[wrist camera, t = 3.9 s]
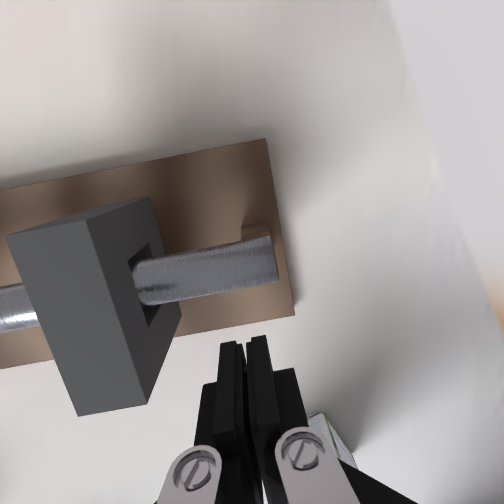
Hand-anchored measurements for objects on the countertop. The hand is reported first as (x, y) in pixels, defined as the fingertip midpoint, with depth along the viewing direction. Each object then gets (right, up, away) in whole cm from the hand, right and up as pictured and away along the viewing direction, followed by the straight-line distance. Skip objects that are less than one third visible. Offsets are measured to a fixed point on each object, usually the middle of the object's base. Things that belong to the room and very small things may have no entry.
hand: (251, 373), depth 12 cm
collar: (-7, +4, +9) cm, 12 cm away
